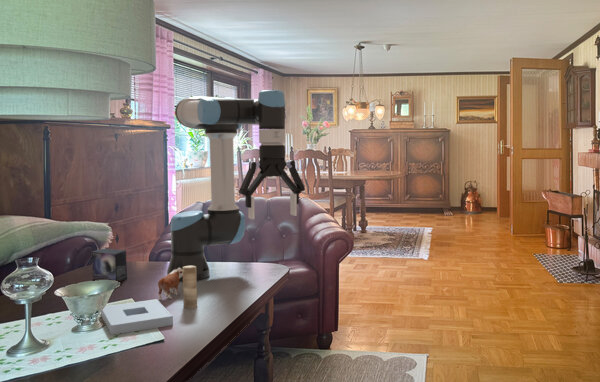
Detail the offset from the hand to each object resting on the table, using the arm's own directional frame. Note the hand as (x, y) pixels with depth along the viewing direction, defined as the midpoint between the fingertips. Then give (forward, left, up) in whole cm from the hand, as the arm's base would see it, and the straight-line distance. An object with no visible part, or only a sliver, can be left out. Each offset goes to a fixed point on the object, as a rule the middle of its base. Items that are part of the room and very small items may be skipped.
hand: (272, 217), depth 167 cm
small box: (-57, -38, -27) cm, 74 cm away
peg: (-12, -22, -27) cm, 37 cm away
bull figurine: (-26, -24, -27) cm, 45 cm away
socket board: (-7, -39, -27) cm, 48 cm away
